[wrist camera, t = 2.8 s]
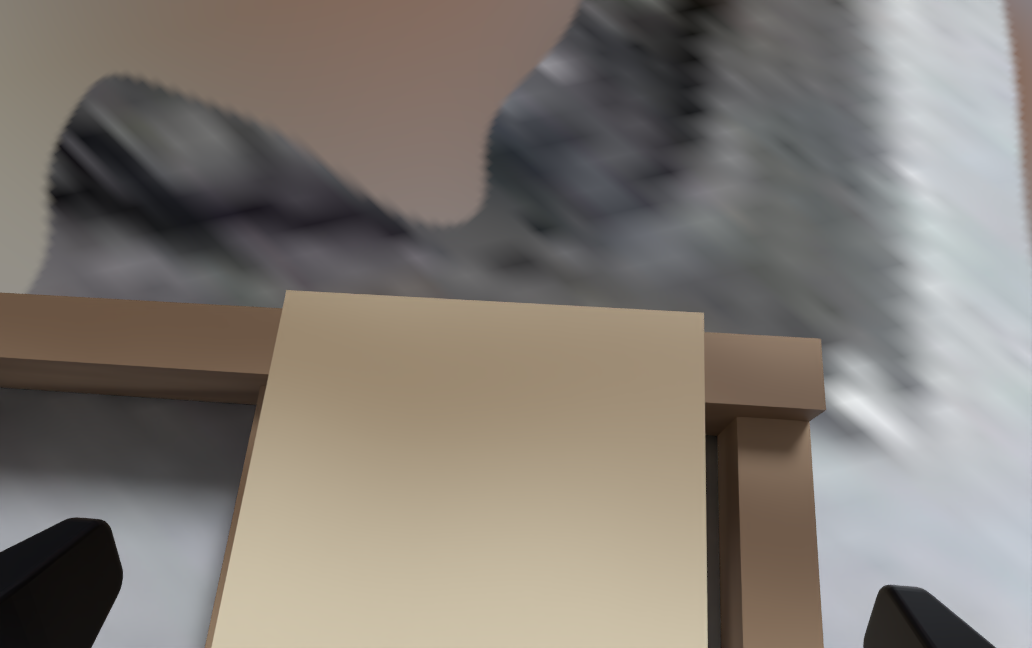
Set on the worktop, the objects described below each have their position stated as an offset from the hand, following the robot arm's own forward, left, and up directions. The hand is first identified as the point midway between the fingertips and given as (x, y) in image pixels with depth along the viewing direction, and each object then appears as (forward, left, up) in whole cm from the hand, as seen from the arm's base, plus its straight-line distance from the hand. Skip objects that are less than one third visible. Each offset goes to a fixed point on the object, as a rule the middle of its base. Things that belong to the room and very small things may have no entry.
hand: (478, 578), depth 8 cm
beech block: (0, 0, -8) cm, 8 cm away
